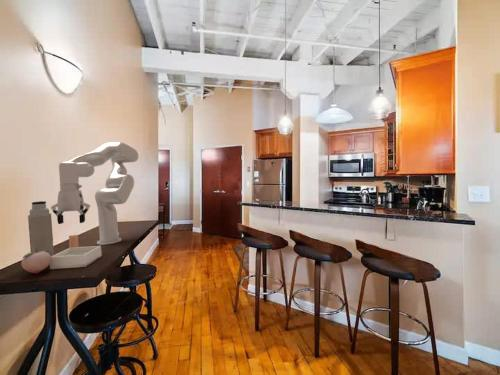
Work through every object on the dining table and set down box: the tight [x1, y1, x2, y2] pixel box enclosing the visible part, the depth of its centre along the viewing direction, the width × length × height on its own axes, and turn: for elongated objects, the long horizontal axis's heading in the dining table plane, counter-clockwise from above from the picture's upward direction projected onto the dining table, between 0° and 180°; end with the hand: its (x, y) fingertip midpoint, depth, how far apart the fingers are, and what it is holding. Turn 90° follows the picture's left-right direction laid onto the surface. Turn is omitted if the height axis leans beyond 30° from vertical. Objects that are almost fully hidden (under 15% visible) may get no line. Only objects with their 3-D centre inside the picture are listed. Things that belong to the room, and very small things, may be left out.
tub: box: [49, 245, 103, 270], centre depth 118 cm, size 15×14×5 cm
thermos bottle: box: [27, 201, 55, 267], centre depth 116 cm, size 8×8×28 cm
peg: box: [68, 234, 80, 248], centre depth 128 cm, size 4×4×10 cm
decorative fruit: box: [21, 249, 51, 274], centre depth 105 cm, size 9×8×10 cm
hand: (71, 223), depth 127 cm, fingers open, 9 cm apart
